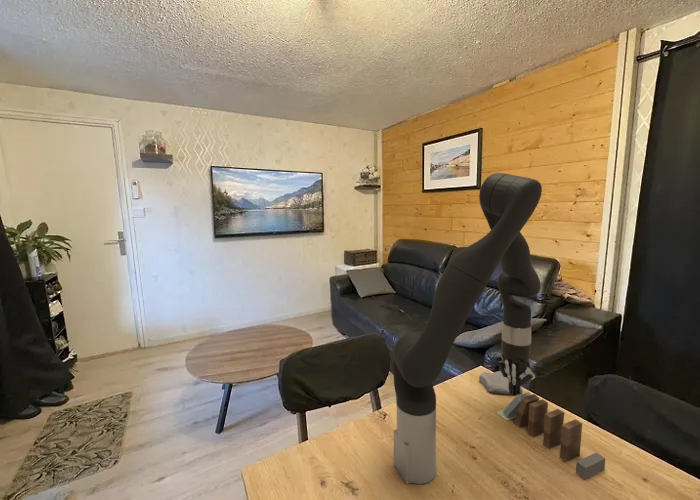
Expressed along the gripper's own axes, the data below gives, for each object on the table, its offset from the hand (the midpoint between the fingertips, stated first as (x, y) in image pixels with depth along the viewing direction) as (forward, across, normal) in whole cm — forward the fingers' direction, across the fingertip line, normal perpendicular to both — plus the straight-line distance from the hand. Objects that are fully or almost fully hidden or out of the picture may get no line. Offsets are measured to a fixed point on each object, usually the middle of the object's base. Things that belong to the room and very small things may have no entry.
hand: (513, 394), depth 93 cm
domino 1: (+6, +1, 0) cm, 6 cm away
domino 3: (+7, -8, 0) cm, 11 cm away
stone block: (+8, +12, -8) cm, 17 cm away
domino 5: (+7, -17, 0) cm, 18 cm away
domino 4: (+7, -12, 0) cm, 14 cm away
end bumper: (+7, -22, 0) cm, 23 cm away
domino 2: (+7, -3, 0) cm, 8 cm away
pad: (+7, +1, 0) cm, 7 cm away
